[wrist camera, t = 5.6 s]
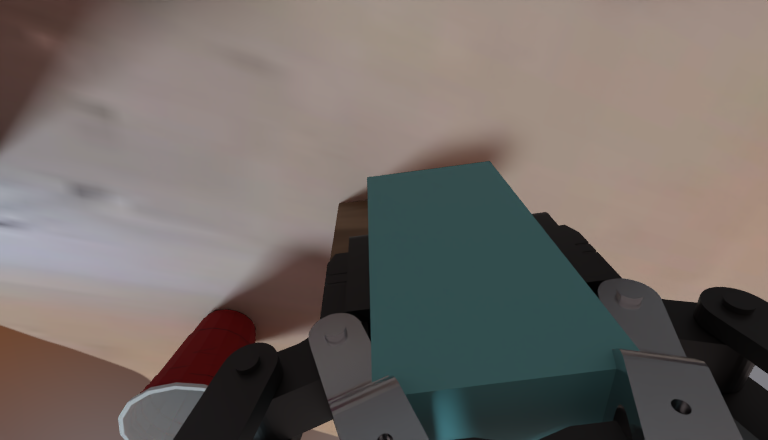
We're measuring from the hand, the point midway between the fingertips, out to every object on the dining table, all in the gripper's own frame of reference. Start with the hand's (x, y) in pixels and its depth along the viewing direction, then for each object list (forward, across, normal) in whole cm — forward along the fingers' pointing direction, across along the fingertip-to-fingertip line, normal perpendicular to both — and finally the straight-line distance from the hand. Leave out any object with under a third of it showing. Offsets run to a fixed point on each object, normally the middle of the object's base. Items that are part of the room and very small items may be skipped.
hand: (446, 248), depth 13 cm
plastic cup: (+21, +21, +22) cm, 37 cm away
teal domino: (+4, 0, 0) cm, 4 cm away
